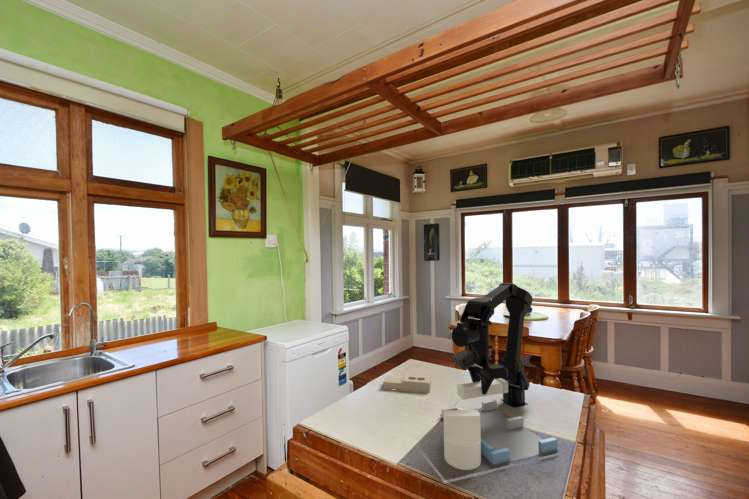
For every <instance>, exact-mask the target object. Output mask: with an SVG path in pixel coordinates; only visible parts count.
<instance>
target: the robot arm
mask: <svg viewBox="0 0 749 499" xmlns="http://www.w3.org/2000/svg"><path fill="white" fill-rule="evenodd" d="M504 302H505V307H506V310H507V312H508V313H509V314H508V315H509V317H508V326H507V336H506V344H505V345H506V346H505V354H504V356H503V357H502V358H501V359H499V360H498V363H493V358H491V357H490V350H491V349H493V344H490V326H492V325H493V322H492V321H491V320H490V319H491V318H492V317H493V315H494V314H495V309H496V308H497V307H498V306H499V305H501V304H502V303H504ZM532 303H533V296H532V295H531V293H530V292H529V291H528V290H526V289H523V288H521V287H520V286H518V285H516V283H512V282H502V283H499V285H498V286H497V287H496V288H494V289H492V290H491V291H490V292H488V293H487V294H485V295H484V296H481V297H480V296H479V297H475V298H472V299H469V300H468V301H467V303H466V305H465V306H464V309H463V312H462V315H461V317H460V319H459V322H457V323H456V327H455V328H453V330H452V333H451V340H452V342H453V344H454V345H456V346H457V347H459V348H463V347H465V349H463V350H460V351H458V352H456V353H454V354H453V355H452V358H453V361H454V365H455V366H456V367H458V368H459V369H461V370H465V369H466V371H468V373H469V376H470V379H471V383H473V382H480V381H481V388H482V394H483V395H485V394H486V393H487V391H488V389H489V387H490V385H491V384H492V382H493V380H494V379H499V378H502V379H504V380H506V381H508V393H502V399H501V400H500V401H502V402H503V403H505V404H506V405H508V406H510V407H512V408H519V407H523V406H524V407H525V406H528V405H529V404H528V403H527V402H526V396H525V394H526V393H525V392H526V391H528V390H529V388H530V381H531V380H530V379H529V378H528V376H527V375H526V374H525V368H526V367H525V366H524V364H523V362H522V359H521V355H522V346H523V345H522V344H523V333H524V323H525V317H526V315H527V314H528V313H529V312H530V310H531V307H532ZM490 363H492V364H490Z"/></svg>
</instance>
